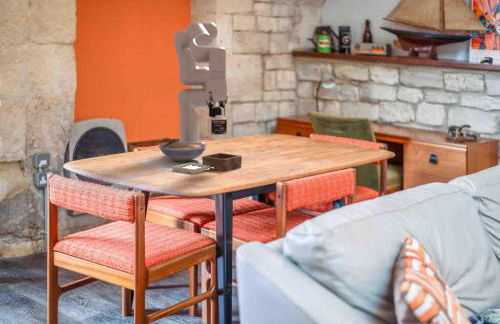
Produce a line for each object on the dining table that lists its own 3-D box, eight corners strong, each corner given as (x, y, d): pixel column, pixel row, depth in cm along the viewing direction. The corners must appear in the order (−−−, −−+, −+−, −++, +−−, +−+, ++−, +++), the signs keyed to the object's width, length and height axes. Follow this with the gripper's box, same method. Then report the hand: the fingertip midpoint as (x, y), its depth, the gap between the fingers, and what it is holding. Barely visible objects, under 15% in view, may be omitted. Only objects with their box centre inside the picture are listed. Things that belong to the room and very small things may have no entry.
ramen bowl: (199, 166, 344) (199, 148, 343) (151, 164, 349) (150, 146, 347) (213, 157, 368) (213, 140, 367) (167, 154, 373) (167, 138, 371)
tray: (190, 166, 344) (190, 162, 344) (210, 169, 337) (210, 165, 337) (172, 170, 335) (172, 166, 334) (193, 174, 328) (193, 169, 328)
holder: (219, 163, 352) (219, 152, 352) (241, 166, 345) (241, 155, 344) (202, 167, 342) (202, 156, 341) (224, 170, 335) (224, 159, 334)
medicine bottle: (211, 135, 335) (211, 108, 333) (207, 133, 342) (207, 106, 340) (227, 134, 337) (226, 107, 335) (222, 132, 344) (222, 106, 342)
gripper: (221, 73, 344) (221, 113, 347) (198, 76, 330) (198, 117, 333) (235, 74, 340) (235, 115, 343) (212, 77, 326) (211, 119, 329)
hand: (216, 115), depth 338 cm, fingers closed on medicine bottle, 6 cm apart
